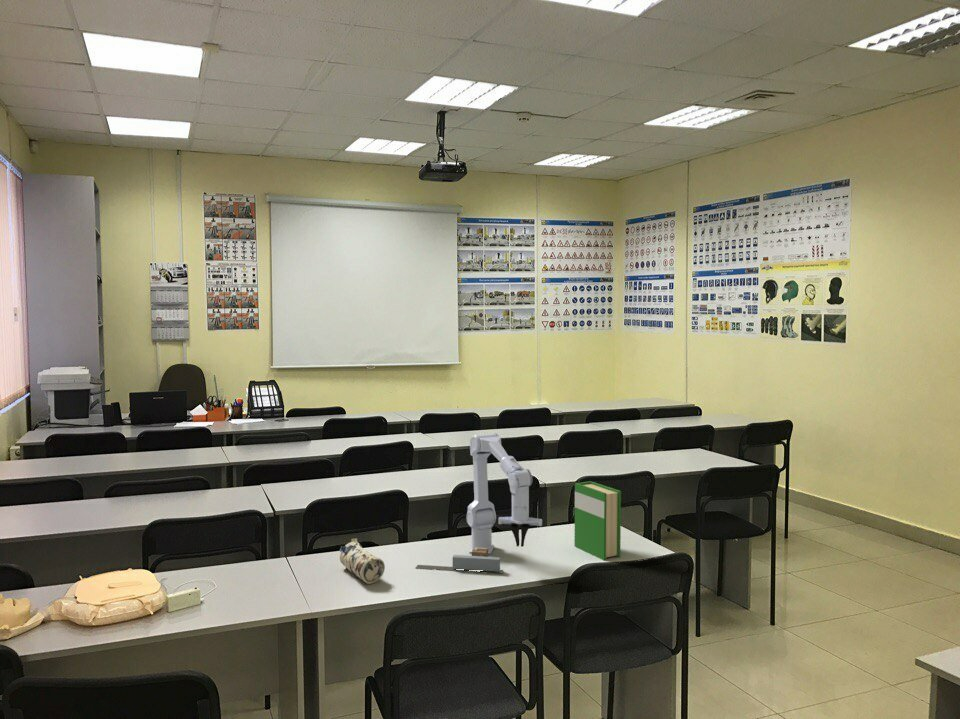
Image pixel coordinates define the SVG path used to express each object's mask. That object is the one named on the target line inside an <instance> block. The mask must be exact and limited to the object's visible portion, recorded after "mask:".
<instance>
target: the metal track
mask: <svg viewBox="0 0 960 719" xmlns="http://www.w3.org/2000/svg"><path fill="white" fill-rule="evenodd" d="M415 568H420V569H419V570H432V569H436V570H435V571H448V570H456V569H453V566H444V565H443V566H442V565H428V564H417V565H416V567H415ZM464 571H469V570H467V569H464ZM464 571H463V572H464ZM455 572H458V571H457V570H456V571H455ZM481 572H487V573H486V574H498V575H501V574H503V572H504V569H500V571H480V572H479V573H481ZM475 573H478V572H477V571H476V572H475Z"/></svg>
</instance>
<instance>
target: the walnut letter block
mask: <svg viewBox="0 0 960 719" xmlns="http://www.w3.org/2000/svg"><path fill="white" fill-rule="evenodd" d="M471 556H484V557H489V554H488V548H478V547H474V549H473V550H472V553H471Z"/></svg>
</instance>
